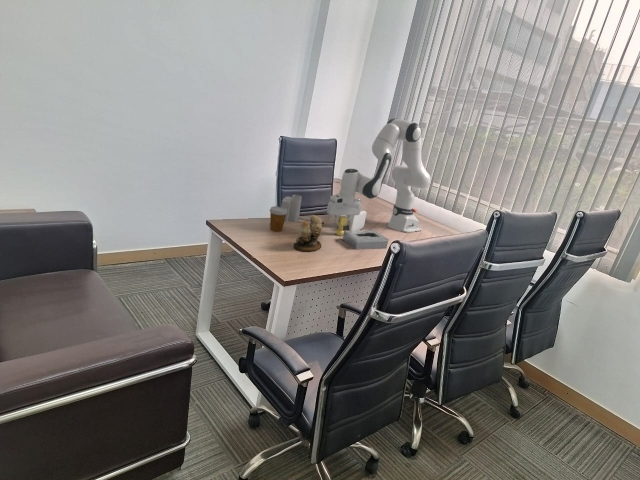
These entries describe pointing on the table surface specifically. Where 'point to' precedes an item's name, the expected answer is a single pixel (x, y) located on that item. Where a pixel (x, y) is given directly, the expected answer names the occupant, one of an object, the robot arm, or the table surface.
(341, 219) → the peg
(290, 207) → the electronic device
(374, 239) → the keyhole plate
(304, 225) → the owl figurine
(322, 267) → the table surface
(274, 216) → the disposable coffee cup
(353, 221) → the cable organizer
